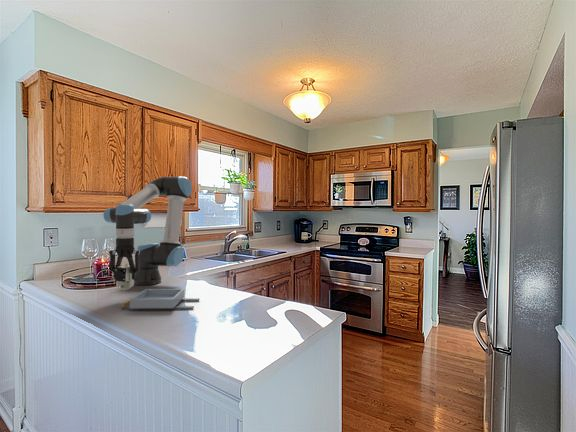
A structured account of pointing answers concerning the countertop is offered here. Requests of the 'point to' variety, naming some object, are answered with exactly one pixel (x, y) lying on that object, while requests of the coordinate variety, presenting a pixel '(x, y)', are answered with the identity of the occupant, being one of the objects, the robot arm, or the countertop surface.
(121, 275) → the pneumatic valve
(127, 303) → the rails
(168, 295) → the shallow square tray
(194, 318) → the countertop surface
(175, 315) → the countertop surface
